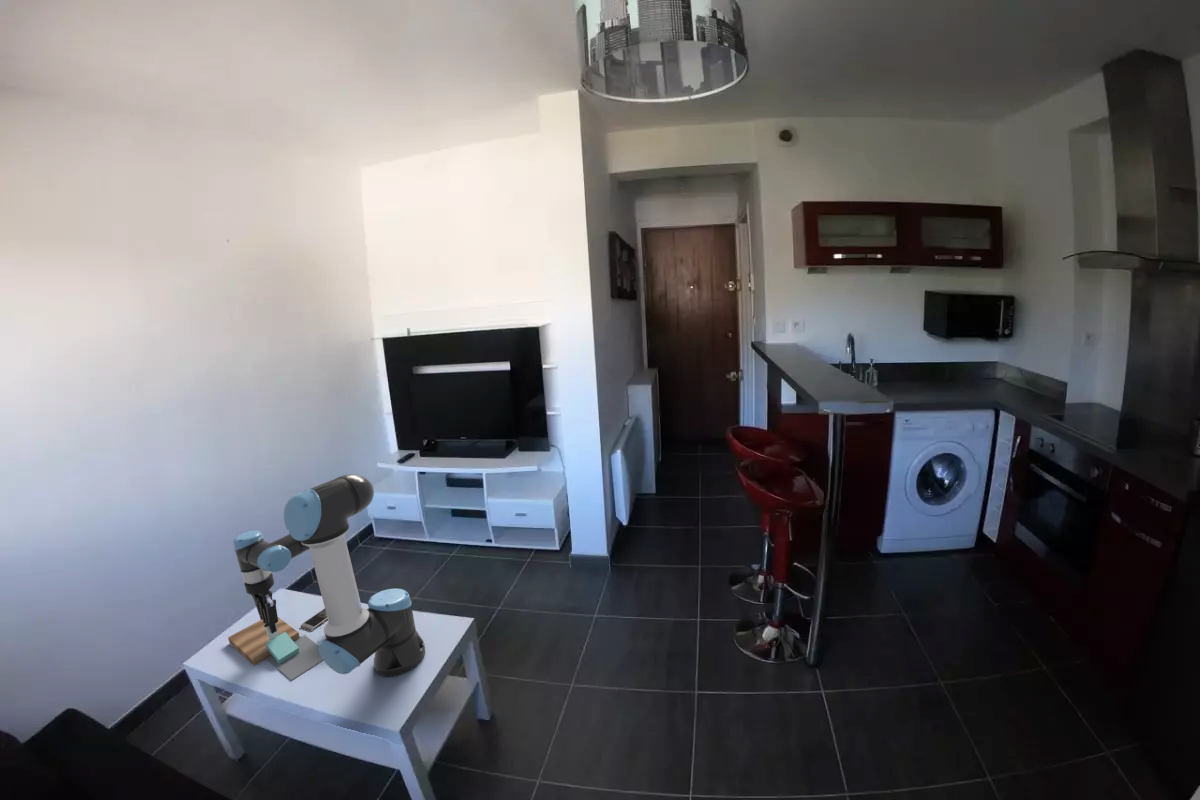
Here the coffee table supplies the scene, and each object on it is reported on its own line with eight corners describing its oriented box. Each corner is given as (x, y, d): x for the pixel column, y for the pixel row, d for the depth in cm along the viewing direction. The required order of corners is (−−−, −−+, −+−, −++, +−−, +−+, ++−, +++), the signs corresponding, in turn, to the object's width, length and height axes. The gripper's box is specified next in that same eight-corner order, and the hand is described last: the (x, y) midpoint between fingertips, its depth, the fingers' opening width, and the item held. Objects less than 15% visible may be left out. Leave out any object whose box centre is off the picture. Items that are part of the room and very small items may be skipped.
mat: (331, 655, 153) (330, 654, 153) (291, 681, 144) (291, 680, 144) (304, 635, 163) (304, 635, 163) (266, 658, 154) (265, 657, 154)
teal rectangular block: (299, 651, 155) (298, 647, 154) (279, 664, 150) (278, 659, 150) (285, 635, 159) (285, 631, 159) (265, 647, 155) (265, 643, 154)
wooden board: (300, 638, 162) (298, 632, 161) (253, 666, 151) (252, 659, 150) (274, 619, 173) (273, 613, 172) (229, 643, 162) (227, 637, 161)
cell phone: (339, 613, 175) (338, 609, 174) (311, 633, 165) (310, 629, 165) (328, 609, 177) (327, 606, 177) (299, 629, 168) (298, 625, 167)
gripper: (279, 577, 151) (295, 639, 157) (262, 566, 158) (278, 625, 164) (253, 589, 145) (270, 653, 150) (236, 577, 152) (253, 639, 158)
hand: (274, 639), depth 157 cm, fingers closed
